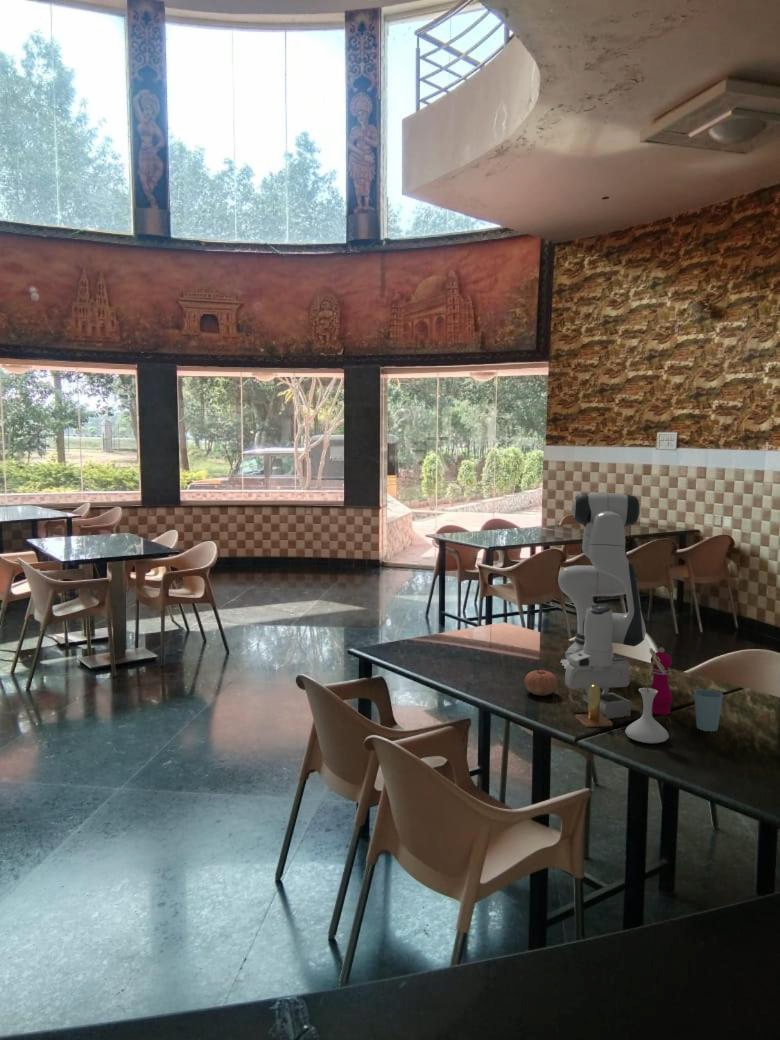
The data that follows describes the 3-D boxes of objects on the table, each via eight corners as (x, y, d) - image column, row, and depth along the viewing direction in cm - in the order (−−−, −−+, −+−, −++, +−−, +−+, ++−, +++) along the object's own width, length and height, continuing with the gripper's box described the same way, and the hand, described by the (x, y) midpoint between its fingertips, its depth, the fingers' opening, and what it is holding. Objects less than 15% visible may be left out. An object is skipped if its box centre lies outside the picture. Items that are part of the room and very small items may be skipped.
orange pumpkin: (561, 699, 244) (562, 674, 244) (528, 699, 244) (528, 675, 243) (552, 689, 255) (553, 665, 254) (520, 689, 254) (521, 666, 254)
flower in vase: (664, 750, 201) (667, 657, 199) (620, 742, 206) (623, 652, 204) (672, 735, 212) (675, 647, 210) (631, 727, 218) (633, 642, 216)
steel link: (573, 701, 241) (573, 687, 241) (597, 698, 244) (597, 685, 244) (605, 719, 225) (605, 704, 225) (630, 715, 228) (631, 701, 228)
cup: (688, 723, 222) (690, 688, 221) (715, 724, 221) (717, 689, 220) (697, 732, 214) (699, 696, 213) (725, 733, 213) (727, 697, 213)
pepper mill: (656, 716, 228) (658, 650, 226) (642, 708, 235) (644, 645, 233) (677, 714, 230) (679, 649, 228) (662, 706, 237) (664, 643, 235)
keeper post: (575, 717, 226) (576, 681, 225) (600, 716, 227) (601, 680, 226) (586, 727, 218) (587, 689, 217) (612, 725, 219) (613, 688, 219)
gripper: (624, 654, 240) (623, 696, 241) (563, 656, 237) (562, 699, 238) (634, 659, 234) (632, 702, 235) (571, 661, 231) (570, 705, 232)
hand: (596, 701), depth 236 cm, fingers closed on steel link, 2 cm apart
